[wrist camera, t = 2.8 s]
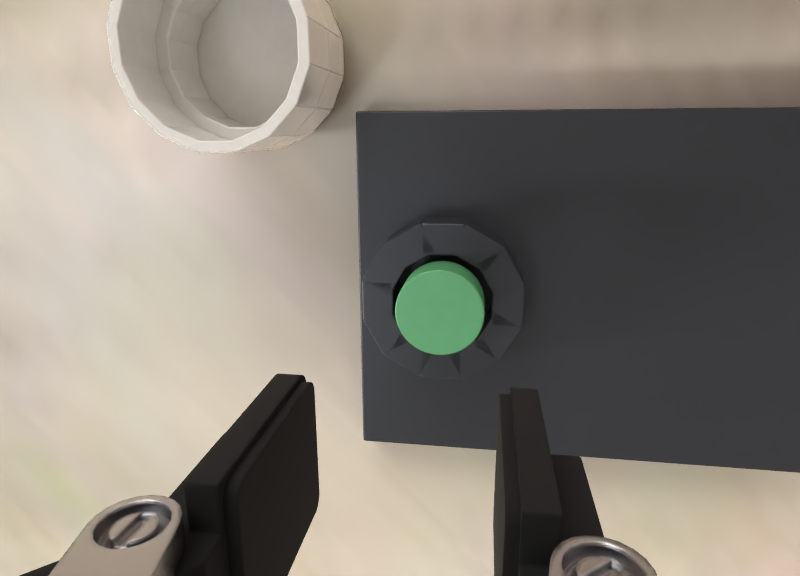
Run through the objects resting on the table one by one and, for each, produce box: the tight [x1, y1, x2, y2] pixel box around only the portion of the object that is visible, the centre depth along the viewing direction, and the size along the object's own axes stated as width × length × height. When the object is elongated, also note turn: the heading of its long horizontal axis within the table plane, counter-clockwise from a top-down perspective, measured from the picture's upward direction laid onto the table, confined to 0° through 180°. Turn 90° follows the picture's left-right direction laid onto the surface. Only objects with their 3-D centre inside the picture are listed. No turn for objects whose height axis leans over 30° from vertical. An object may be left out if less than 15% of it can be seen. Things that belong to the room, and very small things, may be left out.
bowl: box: [106, 0, 344, 153], centre depth 20 cm, size 7×7×5 cm
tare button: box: [395, 261, 485, 355], centre depth 21 cm, size 3×3×2 cm
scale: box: [356, 107, 800, 472], centre depth 22 cm, size 18×14×3 cm
